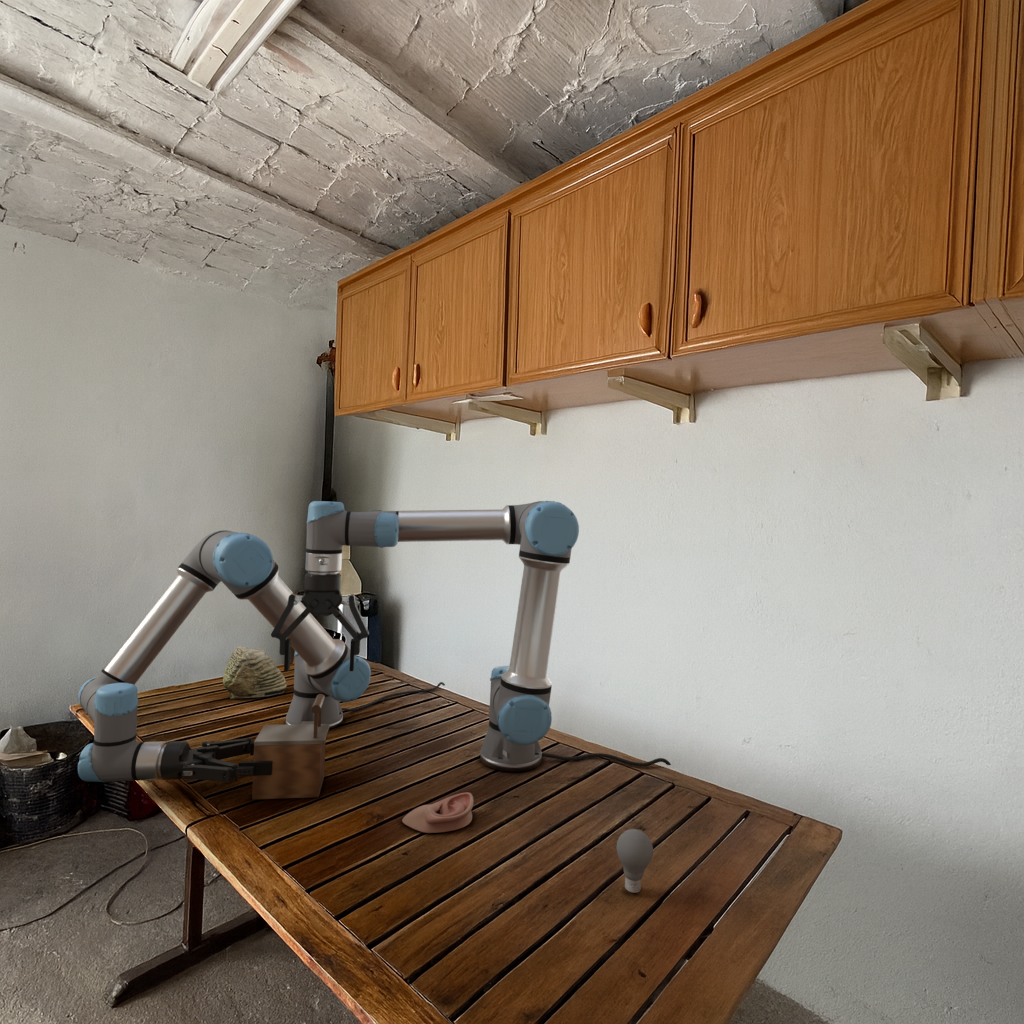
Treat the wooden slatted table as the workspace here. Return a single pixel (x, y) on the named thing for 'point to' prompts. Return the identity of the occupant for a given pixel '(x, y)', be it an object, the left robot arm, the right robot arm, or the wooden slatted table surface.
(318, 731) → the lid
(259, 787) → the chest
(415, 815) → the anatomical model
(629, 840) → the light bulb
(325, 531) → the right robot arm
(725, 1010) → the wooden slatted table surface
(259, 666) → the fossil
